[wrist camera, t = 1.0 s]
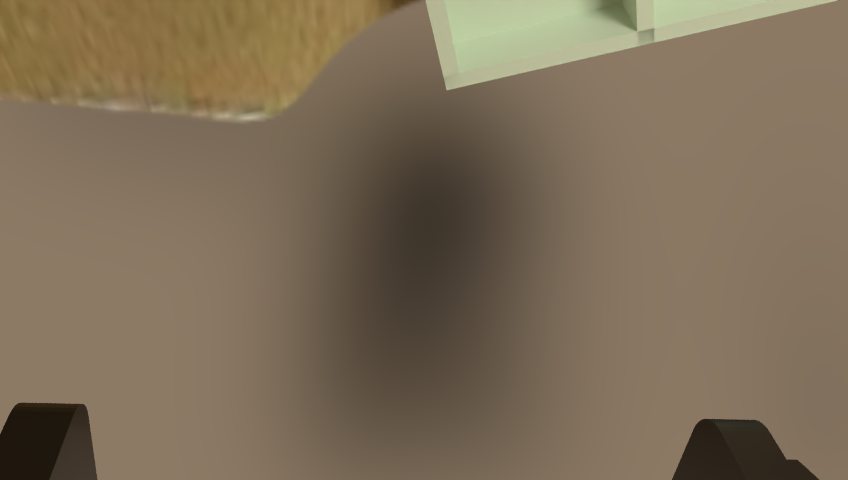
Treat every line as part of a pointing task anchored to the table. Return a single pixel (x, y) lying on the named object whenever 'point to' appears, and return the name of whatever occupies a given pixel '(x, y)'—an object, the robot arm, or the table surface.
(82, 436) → the robot arm
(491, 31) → the egg tray
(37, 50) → the table surface
